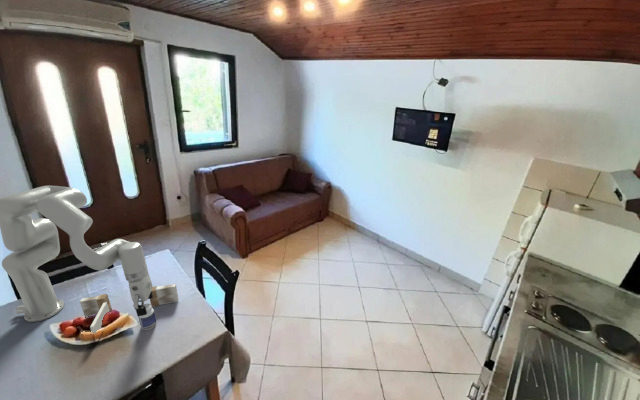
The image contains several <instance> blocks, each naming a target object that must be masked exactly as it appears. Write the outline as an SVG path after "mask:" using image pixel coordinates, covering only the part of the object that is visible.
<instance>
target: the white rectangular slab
mask: <svg viewBox="0 0 640 400" xmlns="http://www.w3.org/2000/svg"><path fill="white" fill-rule="evenodd" d="M107 312H109V308H108V304H107V302H105V303H103V305H102V306H101V308H100V310H99V312H98V314H97V315H96V316H94V317H95V318H93V321H92V323H91V324H90V326H89V333H91V334H92V333H96V331H97V330H99V329H100V328H101V325H102V320H103V317H104V315H105V314H106V313H107ZM91 331H92V332H91Z"/></svg>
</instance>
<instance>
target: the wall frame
mask: <svg viewBox="0 0 640 400" xmlns="http://www.w3.org/2000/svg"><path fill="white" fill-rule="evenodd" d="M151 292H152V296H153V298H151V299H149V301H150V304H151V306H152V308H154V307H159V306H160V305H166V304H171V303H177V302H179V294H178V289H177V284H176V283H174V284H173V283H172V284H167V285H160V286H159V285H158V286H157V285H155V286H152V290H151ZM105 302H107V304H108V308H109V311H111V312H112V309H113V308H112V305H111V301H110V299H109V295H108V293H103V294H98V295H96V296H95V295H94V296H90V297H82V298H81V299H80V301H79V304H80V306H81V309H82V312H83V315H84V317H87V316H90V315H93V314H98V312H99V310H100V308H101V306H102V305H103V303H105ZM87 318H88V317H87Z"/></svg>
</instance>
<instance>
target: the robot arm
mask: <svg viewBox="0 0 640 400" xmlns="http://www.w3.org/2000/svg"><path fill="white" fill-rule="evenodd" d="M87 203H88V199H87V197H86V195H85V194H84V193H83V192H82V191H81V190H80V189H77V188H73V187H69V186H59V185H42V186H38V187H35V188H31V189H28V190H25V191H20V192H17V193H16V192H15V193H13V194H8V195H6V196H5V195H4V196H2V197H0V234H1V237H2V242H3V245H4V247H5V248H6V249H7V250H8V251H10V252H11V253H9V254H8V255H6V256H5V257H4V258H3V259H2V261H1V266H2V269H3V270H4V271H5V272H6V273H7V274H8V275H9V277H10V278H11V279H12V282H13V283H14V285H15V288H16V290H17V292H18V293H19V297H20V298H21V301H22V303H23V305H17V306H16V308H15V309H16V314H24V316H23V318H24V320H25V321H26V322H29V323H35V322H41V321H44V320H47V319H49V318H51V317H54V315H57V314H59V312H61V311H62V309H63V308H64V306H65V302H64V300H62V299H58V298H57V295H56V292H55V290H54V287H53V285H52V283H51V280H50V278H49V275H48V273H47V272H45V271H44V270H41V269H38V268H39V267H40V266H42V265H44V264H46V263H48V262H49V261H51V260H54V259H55V258H56V257H57V256H59V254H60V251H61V246H60V237H59V231H58V228H59V229H61V230H62V231H64V232H65V233H66V234H67V235H68V237H69V247H70V249H71V252H72V253H73V255H74V256H75V258H76V259H78V260H79V261H80V262H82V263H83V264H84V265H85V266H87V267H88V268H90V269H93V270H95V271H104V270H106V269H108V268H109V267H111V266H112V265H114V264H115V263H116V262H118V261H120V264H121V267H122V270H123V274H124V278H125V280H126V281H127V282H128V288H129V293H130V297H131V300H132V302H133V305H132V306H133V308H134V310H135V312H136V315H137V317H138V316H143V315H146V314H147V311H146V308H145V306H144V304H145V302H147V301H148V300H150V299H151V298H153V296H152V292H151V290H152V287H153V283H152V280H151V277H150V274H149V269H148V265H147V262H146V257H145V253H144V250H143V245H142V244H141V242H137V241H132V242H131V241H127V240H125V239H123V238H115V239H113V240H111V241H109V242H108V243H106V244H104V245H102V246H100V247H99V248H97V249H96V250H94V249H92V248H91V246H89V245H87V243H86V240H85V238H84V237H85V236H84V235H85V233H86V232H87V231H88V230H89V229H90V228H91V226H92V225H93V222H94V221H93V218H92V217H91V216H89V215H88V214H86V212H84V211H82V210H81V209H80V208H83V207H84V206H86V205H87ZM37 212H38V213H40V214H41V215H42V216H43V217H41V218H35V219H33V216H32V215H33V214H35V213H37ZM44 217H45V218H44ZM57 227H58V228H57ZM139 303H140V304H139Z"/></svg>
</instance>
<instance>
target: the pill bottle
mask: <svg viewBox="0 0 640 400" xmlns="http://www.w3.org/2000/svg"><path fill="white" fill-rule="evenodd" d="M144 306H145V308H146V311H147V314H146V315H143V316H137V317H138V321H139V325H140V328H141V330H143V331H148V330H152V329H154V327H156V325H157V318H156V317H157V316H156V313H155V310H154V307H152V306H151V303H144Z"/></svg>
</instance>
